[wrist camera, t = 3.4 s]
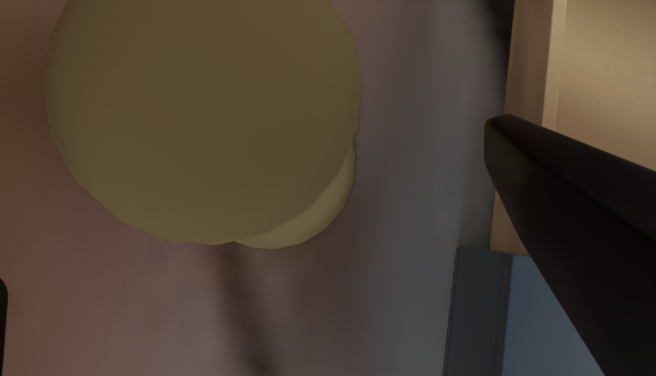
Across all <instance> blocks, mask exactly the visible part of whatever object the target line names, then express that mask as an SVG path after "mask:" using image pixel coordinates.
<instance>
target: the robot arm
mask: <svg viewBox="0 0 656 376" xmlns="http://www.w3.org/2000/svg"><path fill="white" fill-rule="evenodd" d="M484 161H485V165H486V168H487V171H488V173H489V175H490V177H491V179H492V181H493V183H494V186H495V188H496V190H497V192H498V194H499V196H500V199H501V201H502V203H503V205H504V207H505V209H506V212H507V214H508V216H509V218H510V220H511V222H512V225H513V227H514V229H515V231H516V233H517V235H518V237H519V239H520V240H521V242H522V244H523V245H524V247H525V249H526V250H527V252H528V254H529V255H530V257H531V258H532V260H533V262H534V263H535V265H536V266H537V268H538V270H539V271H540V273H541V275H542V276H543V278H544V279H545V281H546V283H547V284H548V286H549V287H550V289H551V291H552V292H553V294H554V295H555V297H556V299H557V300H558V302H559V303H560V305H561V307H562V308H563V310H564V311H565V313H566V315H567V316H568V318H569V319H570V321H571V323H572V324H573V326H574V327H575V329H576V331H577V332H578V334H579V335H580V337H581V339H582V340H583V342H584V343H585V345H586V347H587V348H588V350H589V351H590V353H591V355H592V356H593V358H594V359H595V361H596V363H597V364H598V366H599V367H600V369H601V371H602V372H603V374H604V376H656V171H654V170H652V169H649V168H647V167H644V166H641V165H639V164H636V163H634V162H631V161H629V160H626V159H624V158H621V157H619V156H616V155H614V154H611V153H609V152H606V151H604V150H601V149H598V148H596V147H593V146H591V145H588V144H586V143H583V142H581V141H578V140H576V139H573V138H571V137H568V136H566V135H563V134H561V133H558V132H555V131H553V130H550V129H548V128H545V127H543V126H540V125H538V124H535V123H533V122H530V121H528V120H525V119H523V118H520V117H518V116H515V115H512V114H505V115H501V116H497V117H493V118H490V119H488V120H487V121H486V124H485V134H484ZM7 305H8V291H7V288H6V285H5V283H4V282H3V281H2V280H1V279H0V376H2V370H3V360H4V346H5V332H6V319H7Z"/></svg>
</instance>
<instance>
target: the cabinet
mask: <svg viewBox="0 0 656 376" xmlns="http://www.w3.org/2000/svg"><path fill="white" fill-rule="evenodd" d="M443 376H604V374H603V372H602V371H601V369H600V367H599V366H598V364H597V363H596V361H595V359H594V358H593V356H592V355H591V353H590V351H589V350H588V348H587V347H586V345H585V343H584V342H583V340H582V339H581V337H580V335H579V334H578V332H577V331H576V329H575V327H574V326H573V324H572V323H571V321H570V319H569V318H568V316H567V315H566V313H565V311H564V310H563V308H562V307H561V305H560V303H559V302H558V300H557V299H556V297H555V295H554V294H553V292H552V291H551V289H550V287H549V286H548V284H547V283H546V281H545V279H544V278H543V276H542V275H541V273H540V271H539V270H538V268H537V266H536V265H535V263H534V262H533V260H532V258H531V257H530V255H524V254H516V253H508V252H499V251H491V250H483V249H475V248H466V247H457V248H456V255H455V264H454V274H453V283H452V292H451V302H450V311H449V320H448V330H447V339H446V348H445V358H444V367H443Z"/></svg>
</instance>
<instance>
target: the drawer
mask: <svg viewBox="0 0 656 376" xmlns="http://www.w3.org/2000/svg"><path fill="white" fill-rule="evenodd" d="M505 114H512V115H515V116H518V117H520V118H523V119H525V120H528V121H530V122H533V123H535V124H538V125H540V126H543V127H545V128H548V129H550V130H553V131H555V132H558V133H561V134H563V135H566V136H568V137H571V138H573V139H576V140H578V141H581V142H583V143H586V144H588V145H591V146H593V147H596V148H598V149H601V150H604V151H606V152H609V153H611V154H614V155H616V156H619V157H621V158H624V159H626V160H629V161H631V162H634V163H636V164H639V165H641V166H644V167H647V168H649V169H652V170H654V171H656V0H515V5H514V15H513V25H512V35H511V44H510V54H509V64H508V74H507V84H506V94H505V103H504V113H503V115H505ZM490 250H491V251H499V252H508V253H516V254H524V255H529V254H528V252H527V250H526V249H525V247H524V245H523V244H522V242H521V240H520V239H519V237H518V235H517V233H516V231H515V229H514V227H513V225H512V222H511V220H510V218H509V216H508V214H507V212H506V209H505V207H504V205H503V203H502V201H501V199H500V196H499V194H498V192H497V190H496V192H495V202H494V212H493V221H492V231H491V241H490Z"/></svg>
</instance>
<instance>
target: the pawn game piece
mask: <svg viewBox="0 0 656 376" xmlns="http://www.w3.org/2000/svg"><path fill="white" fill-rule="evenodd" d="M361 89H362V76H361V72H360V68H359V63H358V59H357V55H356V51H355V46H354V42H353V38H352V34H351V32H350V30H349V29H348V27H347V26H346V24H345V22H344V21H343V19H342V17H341V16H340V14H339V12H338V11H337V9H336V8H335V6H334V4H333V3H332V1H331V0H67V2H66V4H65V6H64V8H63V10H62V12H61V14H60V16H59V18H58V20H57V22H56V24H55V26H54V28H53V30H52V32H51V34H50V39H49V45H48V53H47V60H46V67H45V74H44V81H43V88H42V91H43V97H44V102H45V108H46V113H47V119H48V124H49V130H50V135H51V138H52V140H53V142H54V144H55V146H56V147H57V149H58V151H59V153H60V155H61V156H62V158H63V160H64V162H65V164H66V165H67V167H68V169H69V171H70V173H71V174H72V176H73V178H74V180H75V181H76V182H77V183H78V184H80V185H81V186H82V187H83V188H84V189H85V190H86V191H87V192H88V193H89V194H91V195H92V196H93V197H94V198H95V199H96V200H97V201H98V202H99V203H100V204H102V205H103V206H104V207H105V208H106V209H107V210H108V211H109V212H110V213H112V214H113V215H114V216H115V217H116V218H117V219H119V220H120V221H122V222H124V223H126V224H129V225H131V226H133V227H135V228H138V229H140V230H142V231H144V232H147V233H149V234H151V235H154V236H156V237H158V238H160V239H163V240H165V241H175V242H185V243H196V244H206V245H218V244H223V243H227V242H232V241H235V242H238V243H240V244H242V245H244V246H247V247H253V248H264V249H274V250H275V249H280V248H284V247H289V246H293V245H298V244H302V243H304V242H305V241H307V240H309V239H310V238H312V237H314V236H315V235H317V234H319V233H320V232H322V231H324V230H325V229H326V228H327V227H328V226H329V225H330V224H331V223H332V221H333V220H334V219H335V218H336V217H337V216H338V215H339V214H340V212H341V211H342V210H343V209H344V207H345V204H346V202H347V200H348V197H349V195H350V193H351V190H352V188H353V186H354V180H355V169H356V158H357V157H356V153H355V148H354V144H353V139H354V136H355V134H356V132H357V129H358V122H359V111H360V100H361Z"/></svg>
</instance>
